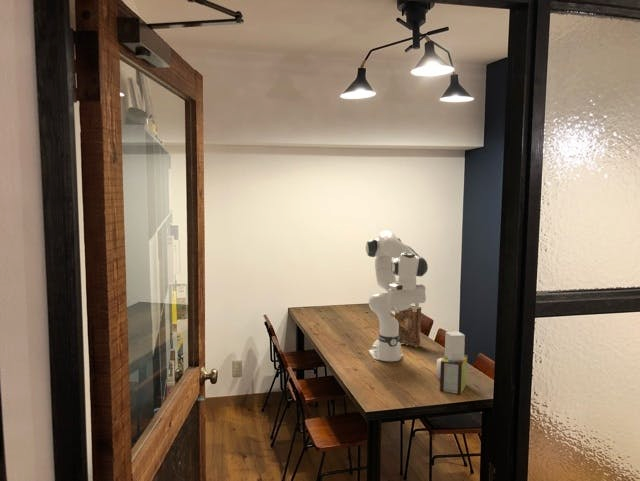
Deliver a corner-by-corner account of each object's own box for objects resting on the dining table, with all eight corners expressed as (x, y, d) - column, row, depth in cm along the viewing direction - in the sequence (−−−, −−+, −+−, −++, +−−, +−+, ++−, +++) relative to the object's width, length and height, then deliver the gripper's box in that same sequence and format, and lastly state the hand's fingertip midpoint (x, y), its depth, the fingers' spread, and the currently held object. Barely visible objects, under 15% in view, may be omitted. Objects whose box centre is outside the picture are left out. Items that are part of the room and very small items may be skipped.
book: (421, 345, 312) (422, 307, 310) (417, 347, 308) (418, 309, 306) (397, 340, 322) (399, 303, 319) (394, 342, 317) (395, 305, 315)
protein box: (466, 384, 248) (467, 355, 247) (460, 395, 235) (462, 364, 233) (445, 380, 253) (446, 351, 252) (439, 391, 239) (440, 360, 238)
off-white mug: (452, 380, 253) (453, 363, 253) (436, 379, 255) (437, 362, 254) (451, 373, 263) (451, 357, 262) (436, 372, 265) (436, 356, 264)
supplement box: (464, 360, 239) (465, 335, 237) (450, 361, 237) (451, 335, 236) (457, 355, 246) (459, 331, 245) (444, 356, 245) (445, 331, 244)
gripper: (422, 283, 250) (421, 309, 251) (386, 284, 244) (385, 311, 245) (428, 285, 244) (427, 312, 245) (391, 287, 238) (391, 314, 239)
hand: (406, 312), depth 245 cm, fingers open, 8 cm apart
